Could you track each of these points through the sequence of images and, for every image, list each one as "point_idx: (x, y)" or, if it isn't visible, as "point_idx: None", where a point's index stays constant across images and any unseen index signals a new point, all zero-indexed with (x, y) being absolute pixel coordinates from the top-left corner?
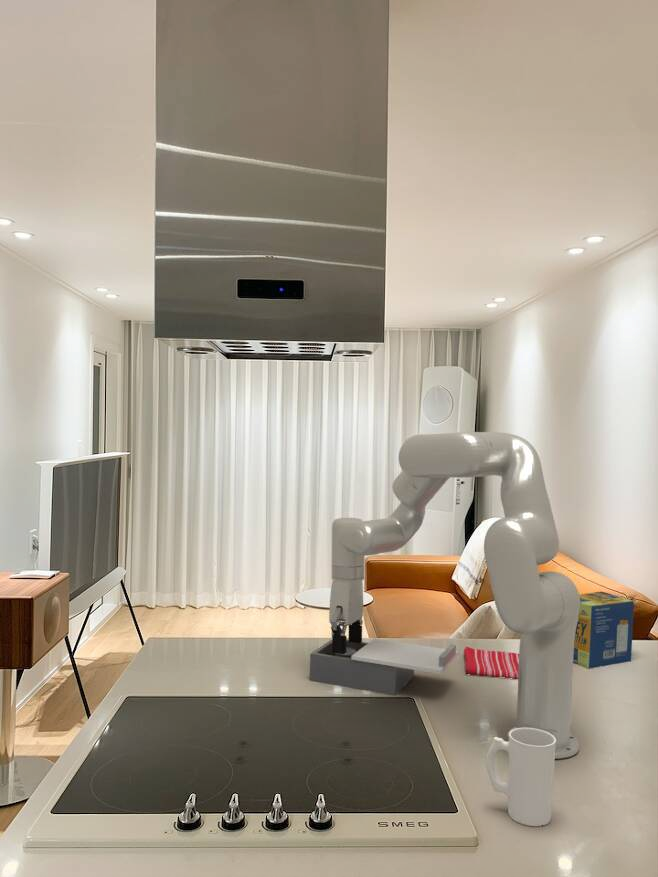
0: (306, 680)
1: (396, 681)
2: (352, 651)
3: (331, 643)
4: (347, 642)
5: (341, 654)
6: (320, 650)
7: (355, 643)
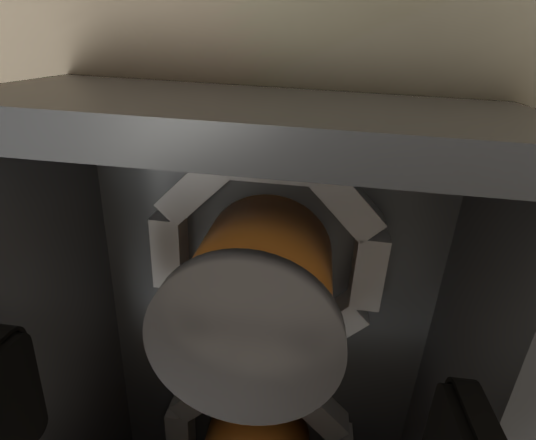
0: (53, 54)
1: None
2: (247, 405)
3: (390, 187)
4: (529, 320)
5: (147, 338)
6: (64, 160)
7: (503, 394)
